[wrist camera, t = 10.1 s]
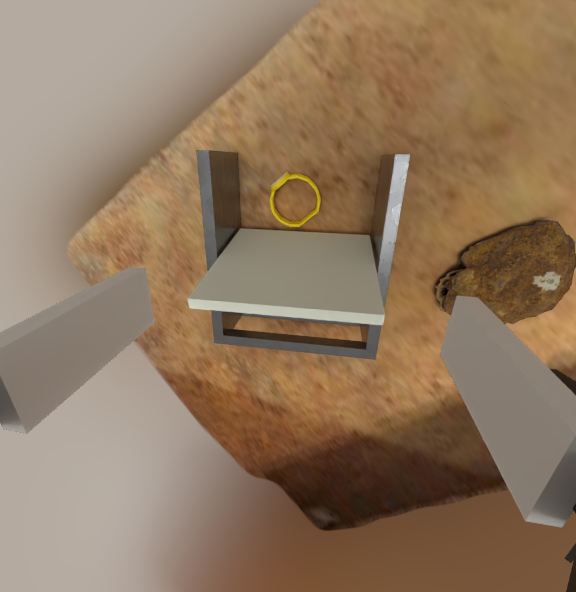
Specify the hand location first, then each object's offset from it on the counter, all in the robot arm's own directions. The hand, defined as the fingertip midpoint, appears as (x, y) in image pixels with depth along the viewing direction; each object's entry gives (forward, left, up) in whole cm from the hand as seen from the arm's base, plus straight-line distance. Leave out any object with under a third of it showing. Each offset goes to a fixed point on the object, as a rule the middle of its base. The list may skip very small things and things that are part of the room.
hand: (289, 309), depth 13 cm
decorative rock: (-22, +7, -27) cm, 36 cm away
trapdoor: (+2, +4, -18) cm, 18 cm away
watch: (+1, +1, -26) cm, 26 cm away
